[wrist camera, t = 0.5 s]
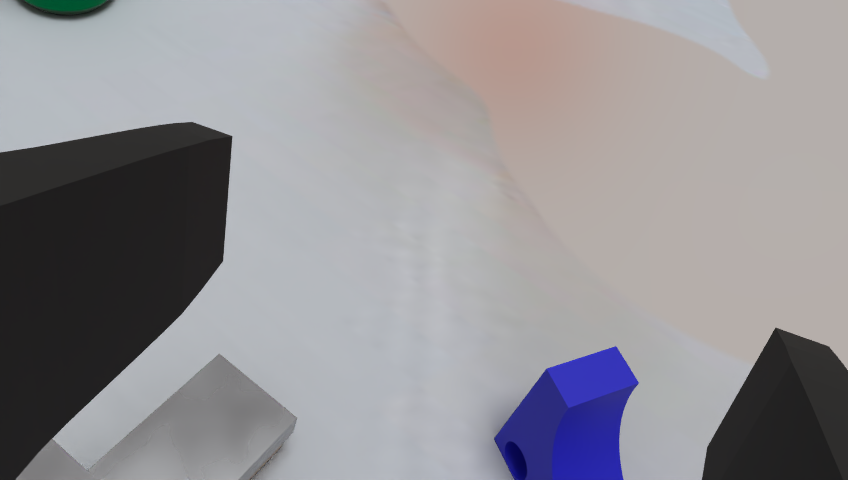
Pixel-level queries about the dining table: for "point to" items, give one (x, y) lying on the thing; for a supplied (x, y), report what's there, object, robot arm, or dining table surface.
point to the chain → (188, 435)
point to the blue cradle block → (570, 421)
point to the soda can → (66, 6)
